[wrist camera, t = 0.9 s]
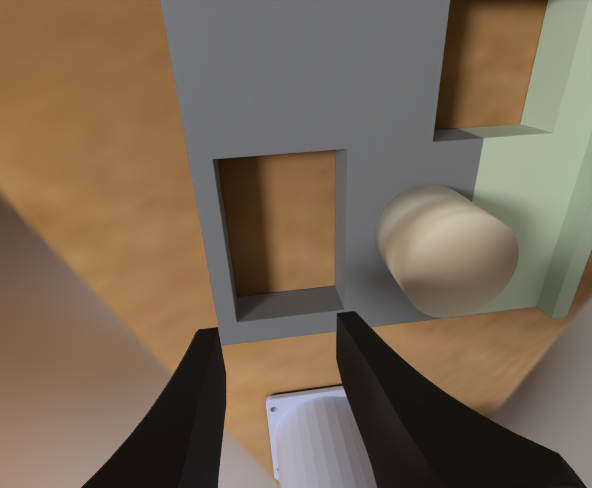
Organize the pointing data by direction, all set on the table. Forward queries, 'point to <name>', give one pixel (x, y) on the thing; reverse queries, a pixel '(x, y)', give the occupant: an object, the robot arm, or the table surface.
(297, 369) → the table surface
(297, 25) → the trap deck
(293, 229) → the table surface
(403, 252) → the beige rounded cylinder
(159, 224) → the table surface
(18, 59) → the table surface
